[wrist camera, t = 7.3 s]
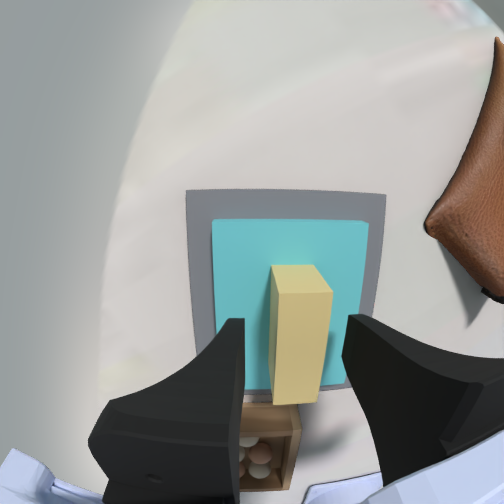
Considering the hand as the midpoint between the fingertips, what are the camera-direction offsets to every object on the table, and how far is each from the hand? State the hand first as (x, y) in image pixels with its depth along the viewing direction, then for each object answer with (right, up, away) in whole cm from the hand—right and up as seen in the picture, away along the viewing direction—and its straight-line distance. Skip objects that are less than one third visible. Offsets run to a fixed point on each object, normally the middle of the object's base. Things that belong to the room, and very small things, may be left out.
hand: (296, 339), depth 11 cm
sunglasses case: (+15, +10, +1) cm, 18 cm away
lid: (0, +1, +3) cm, 3 cm away
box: (-2, -9, +6) cm, 11 cm away
